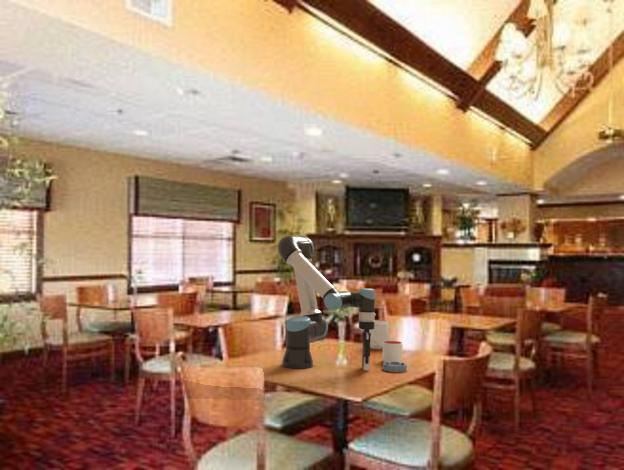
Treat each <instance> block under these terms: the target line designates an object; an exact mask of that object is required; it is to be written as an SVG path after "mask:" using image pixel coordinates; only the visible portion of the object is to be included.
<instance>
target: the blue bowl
mask: <svg viewBox="0 0 624 470" xmlns="http://www.w3.org/2000/svg"><path fill="white" fill-rule="evenodd" d="M407 367H408V365H407V363H405V362H402V361H401V362H390V361H389V362H384V361H383V363H382V370H383V371H385V372H390V373H405V372H407V370H408V369H407Z"/></svg>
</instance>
